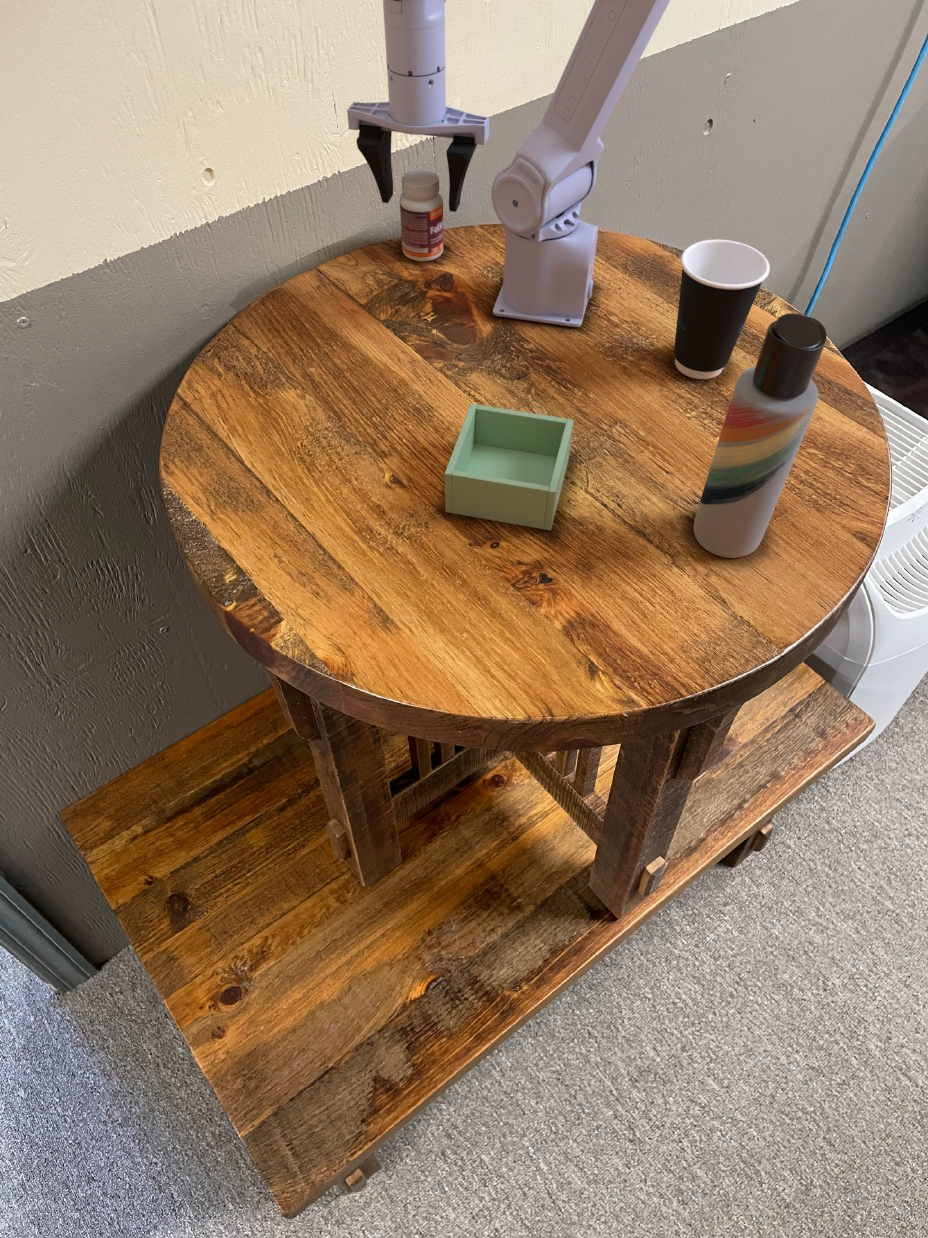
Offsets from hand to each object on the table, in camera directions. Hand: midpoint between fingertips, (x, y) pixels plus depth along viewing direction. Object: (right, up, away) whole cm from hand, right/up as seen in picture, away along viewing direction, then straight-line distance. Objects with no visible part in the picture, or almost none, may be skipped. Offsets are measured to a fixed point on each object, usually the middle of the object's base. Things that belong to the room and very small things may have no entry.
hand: (420, 202), depth 95 cm
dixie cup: (+28, -20, -8) cm, 36 cm away
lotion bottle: (+27, -39, -22) cm, 52 cm away
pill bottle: (0, -4, +5) cm, 6 cm away
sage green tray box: (+9, -34, -19) cm, 40 cm away
